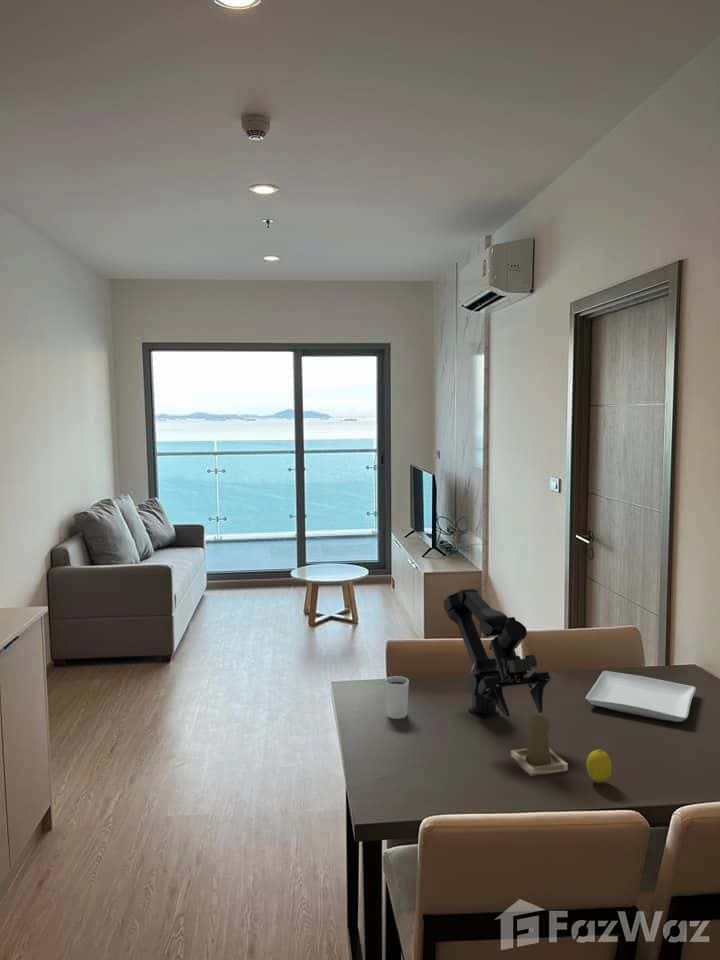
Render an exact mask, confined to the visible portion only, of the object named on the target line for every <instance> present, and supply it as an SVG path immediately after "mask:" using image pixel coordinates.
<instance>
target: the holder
mask: <svg viewBox="0 0 720 960" xmlns="http://www.w3.org/2000/svg"><path fill="white" fill-rule="evenodd" d="M527 748H528V747H527ZM527 748H521V749H520V748H519V749H512V750H510V758H511V759H512V760H513V761H514V762H515V763H516V764H517V765H518V766H519V767H520V768H521V769H523V771H524V772H526V774H527V775H528V776H529V777H531V776H532V777H533V776H539V775H548V774H554V773H560V772H566V771H568V770H569V769H568V768H569V766H568V765H569V764H568V762H566V761H565V760H563V758H561V757H560V756H559V755H558V754H557V753H556V752H554V751H553V750H552V749H551V748H550V747H549V750H550V759H551V764H550V765H542V766H532V765H530V764H528V763H527V762H526V754H527Z"/></svg>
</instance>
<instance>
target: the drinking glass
mask: <svg viewBox="0 0 720 960" xmlns="http://www.w3.org/2000/svg"><path fill="white" fill-rule="evenodd" d="M384 680H385V683H384V684H385V685H384V687H385V703H386V706H385V708H386V716H387V717H388V718H389V719H390V718H391V719H394V720H395V719H396V720H402V719H404V718H406V717H407V715H408V703H409V683H410V681H409V679H408V678H407V677H404V676H397V675H395V676H394V675H393V676H389V677H387V678H385V679H384Z"/></svg>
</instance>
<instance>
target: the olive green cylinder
mask: <svg viewBox="0 0 720 960" xmlns="http://www.w3.org/2000/svg"><path fill="white" fill-rule="evenodd" d="M527 725H528V729H529V736H528V742H527V743H528V744H527V754H526V762H527V763H528V764H530V765H532V766H542V765H550V764H551V759H550V750H549V748H550V744H549V743H550V741H549V733H548V732H550V730H551V723H550V720H549V719H548V718H547V717H545V716H541V715H533V716H531V717H530V718H529V720H528V722H527Z"/></svg>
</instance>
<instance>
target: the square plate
mask: <svg viewBox="0 0 720 960" xmlns="http://www.w3.org/2000/svg"><path fill="white" fill-rule="evenodd" d="M696 690H697V687H695V686H693V685H687V684H681V683H677V682H673V681H668V680H662V679H658V678H657V679H656V678H654V677H653V678H652V677H647V676H642V675H636V674H629V673H624V672H623V673H622V672H615V671H611V670H609V671H608V670H603V671H602V672H601V674H600V675H599V676H598V679H597V680H596V682H595V683H594V685H593V686H592V688H591V689H590V690H589V692H588V693H587V695H586V696H585V700H587V701H588V702H589V703H590V704H592V705H593V706H596V707H600V708H604V709H605V708H606V709H608V710H612V711H615V712H621V713H624V714H625V713H626V714H631V715H636V716H640V717H641V716H642V717H645V718H651V719H655V720H662V721H670V722H677V723H679V722H680V723H681V722H683V721H685V720H686V719H688V716H689V713H690V708H691V703H692V700H693V697H694V695H695V693H696Z"/></svg>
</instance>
